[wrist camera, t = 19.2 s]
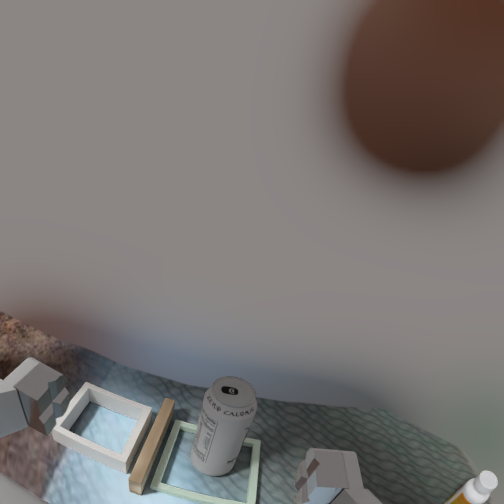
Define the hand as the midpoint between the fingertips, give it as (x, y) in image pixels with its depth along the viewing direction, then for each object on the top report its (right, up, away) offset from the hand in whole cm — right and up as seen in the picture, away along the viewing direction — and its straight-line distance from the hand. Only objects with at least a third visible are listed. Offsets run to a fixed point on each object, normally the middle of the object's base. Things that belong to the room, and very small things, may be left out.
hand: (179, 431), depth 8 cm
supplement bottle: (+33, -36, +19) cm, 52 cm away
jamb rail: (-11, -21, +27) cm, 36 cm away
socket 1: (-18, -20, +27) cm, 38 cm away
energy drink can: (-3, -23, +28) cm, 36 cm away
